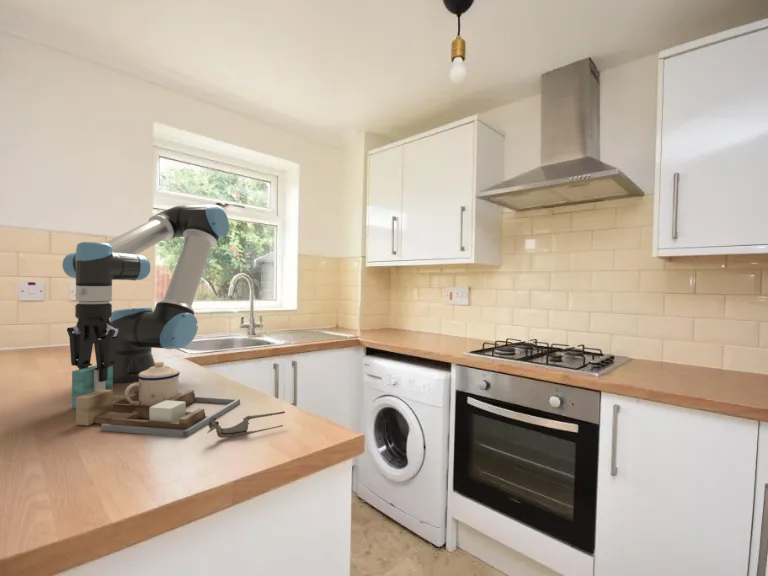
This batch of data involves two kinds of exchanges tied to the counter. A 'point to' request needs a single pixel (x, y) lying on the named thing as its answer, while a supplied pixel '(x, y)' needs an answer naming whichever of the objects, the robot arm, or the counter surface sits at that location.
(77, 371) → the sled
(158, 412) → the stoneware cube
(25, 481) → the counter surface
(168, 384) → the teacup with lid
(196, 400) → the lane rails
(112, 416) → the sled
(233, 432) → the nutcracker
